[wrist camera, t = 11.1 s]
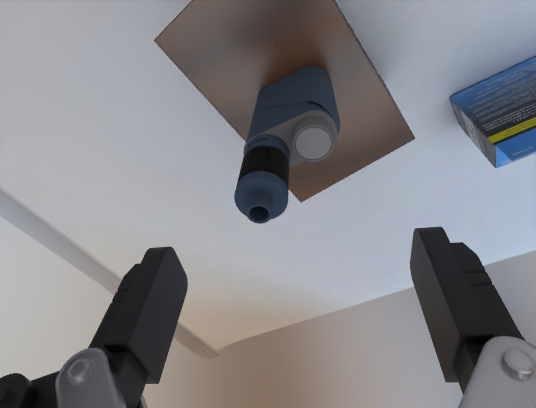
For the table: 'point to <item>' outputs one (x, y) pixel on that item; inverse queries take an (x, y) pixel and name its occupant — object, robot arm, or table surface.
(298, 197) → the block
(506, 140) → the blue cardboard box
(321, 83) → the vaping device
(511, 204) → the table surface
